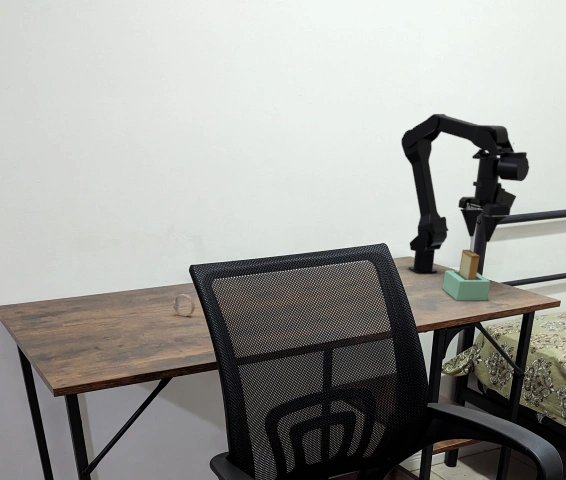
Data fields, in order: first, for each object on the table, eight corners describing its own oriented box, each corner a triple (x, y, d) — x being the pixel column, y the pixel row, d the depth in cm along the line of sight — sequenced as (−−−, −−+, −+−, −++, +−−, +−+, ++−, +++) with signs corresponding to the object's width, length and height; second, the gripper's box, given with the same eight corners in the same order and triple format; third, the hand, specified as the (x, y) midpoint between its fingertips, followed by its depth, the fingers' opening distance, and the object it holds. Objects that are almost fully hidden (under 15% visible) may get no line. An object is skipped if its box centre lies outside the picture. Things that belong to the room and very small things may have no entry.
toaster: (442, 288, 200) (445, 269, 198) (475, 288, 201) (478, 269, 199) (456, 300, 190) (459, 280, 187) (491, 300, 191) (494, 280, 189)
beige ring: (178, 313, 172) (177, 292, 170) (196, 315, 171) (195, 294, 168) (173, 316, 170) (172, 294, 168) (191, 318, 169) (190, 297, 166)
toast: (456, 289, 199) (462, 249, 193) (463, 289, 199) (469, 249, 193) (465, 296, 192) (472, 255, 187) (473, 296, 192) (479, 255, 187)
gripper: (533, 181, 187) (522, 244, 195) (497, 175, 203) (488, 233, 211) (494, 181, 185) (485, 245, 192) (461, 175, 201) (454, 234, 208)
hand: (479, 239), depth 201 cm, fingers open, 9 cm apart
